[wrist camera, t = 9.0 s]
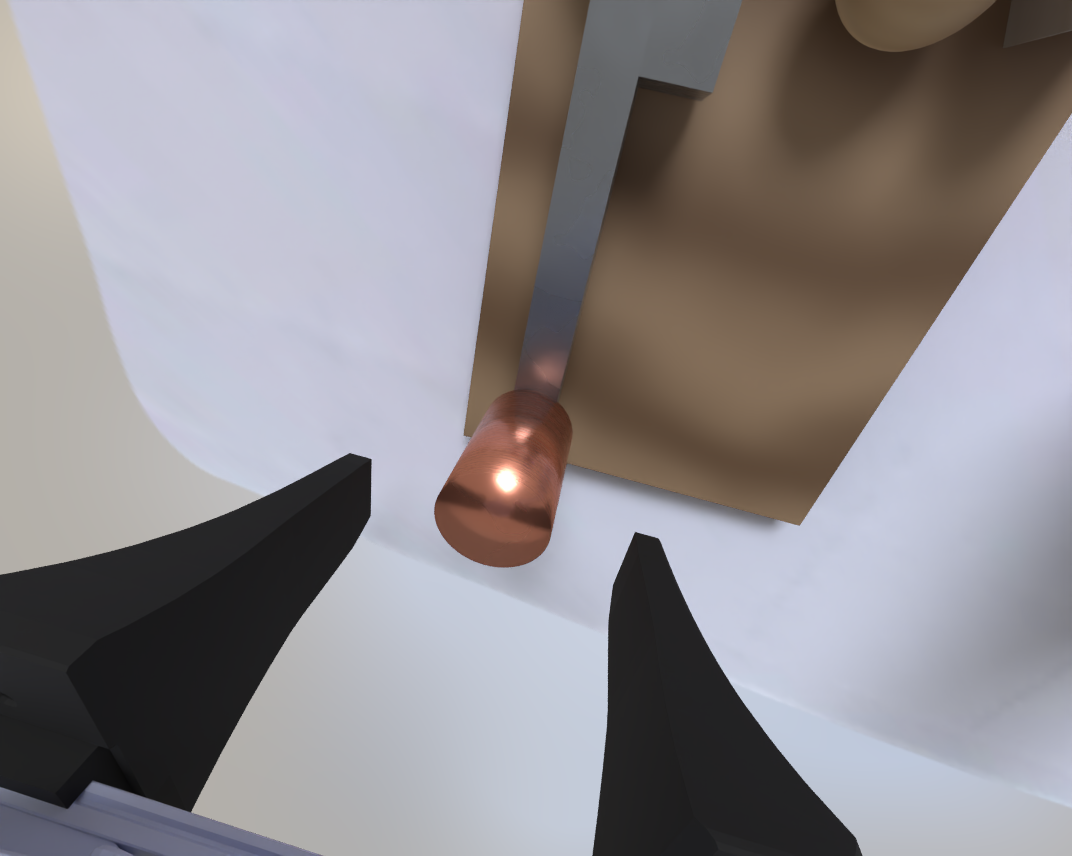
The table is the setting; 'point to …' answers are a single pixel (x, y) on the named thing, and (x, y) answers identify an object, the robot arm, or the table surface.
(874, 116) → the board
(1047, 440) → the table surface
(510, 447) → the lever
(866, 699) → the table surface
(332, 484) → the robot arm
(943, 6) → the walnut
